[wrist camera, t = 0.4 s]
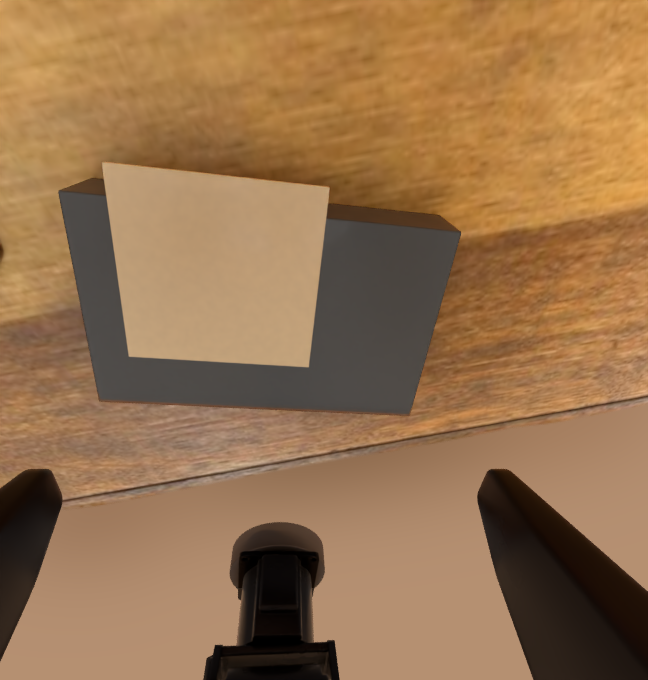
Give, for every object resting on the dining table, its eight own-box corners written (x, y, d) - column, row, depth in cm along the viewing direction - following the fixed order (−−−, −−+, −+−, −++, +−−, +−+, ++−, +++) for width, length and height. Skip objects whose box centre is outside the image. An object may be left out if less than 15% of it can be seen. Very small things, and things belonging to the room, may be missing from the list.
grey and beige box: (397, 383, 25) (410, 418, 22) (120, 368, 23) (97, 403, 20) (446, 188, 19) (472, 203, 16) (86, 147, 17) (48, 155, 15)
